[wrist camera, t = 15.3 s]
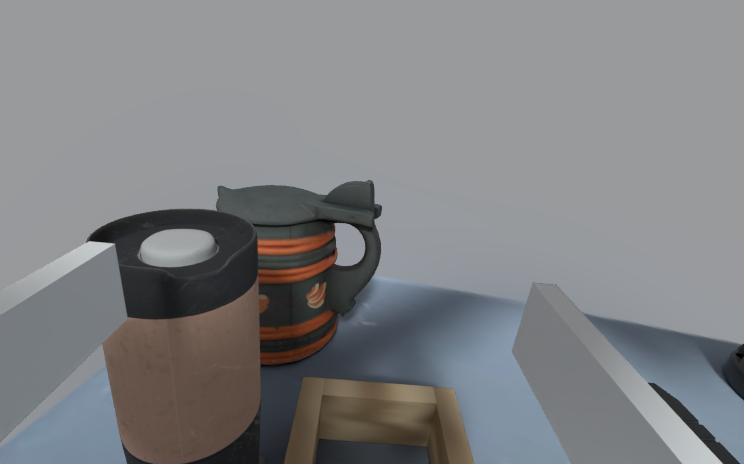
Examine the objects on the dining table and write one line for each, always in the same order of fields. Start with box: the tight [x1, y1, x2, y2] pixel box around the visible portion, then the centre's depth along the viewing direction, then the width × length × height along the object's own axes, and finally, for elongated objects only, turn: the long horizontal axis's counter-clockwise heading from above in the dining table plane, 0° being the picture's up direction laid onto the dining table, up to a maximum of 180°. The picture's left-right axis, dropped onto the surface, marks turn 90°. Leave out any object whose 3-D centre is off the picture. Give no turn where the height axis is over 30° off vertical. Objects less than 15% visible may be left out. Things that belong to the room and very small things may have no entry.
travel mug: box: [86, 209, 261, 464], centre depth 22 cm, size 8×8×20 cm
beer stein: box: [216, 180, 382, 365], centre depth 41 cm, size 19×15×20 cm
